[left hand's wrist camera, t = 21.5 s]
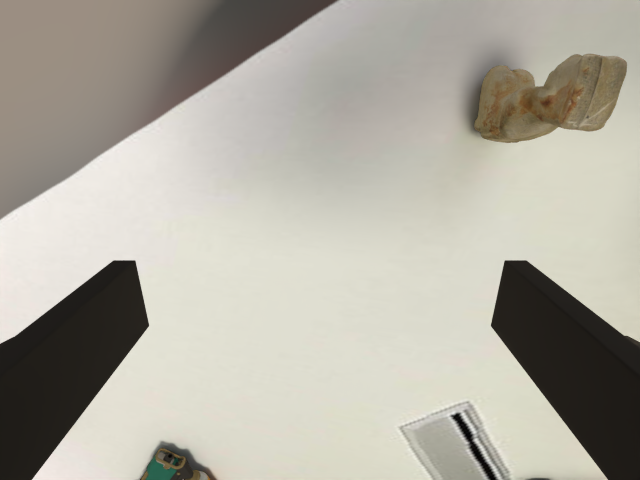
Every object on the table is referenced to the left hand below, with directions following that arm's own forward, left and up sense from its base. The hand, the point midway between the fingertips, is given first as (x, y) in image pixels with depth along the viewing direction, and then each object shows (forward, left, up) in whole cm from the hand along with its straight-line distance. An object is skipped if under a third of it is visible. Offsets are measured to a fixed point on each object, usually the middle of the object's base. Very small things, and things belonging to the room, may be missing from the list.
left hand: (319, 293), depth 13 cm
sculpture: (-20, +4, -30) cm, 36 cm away
